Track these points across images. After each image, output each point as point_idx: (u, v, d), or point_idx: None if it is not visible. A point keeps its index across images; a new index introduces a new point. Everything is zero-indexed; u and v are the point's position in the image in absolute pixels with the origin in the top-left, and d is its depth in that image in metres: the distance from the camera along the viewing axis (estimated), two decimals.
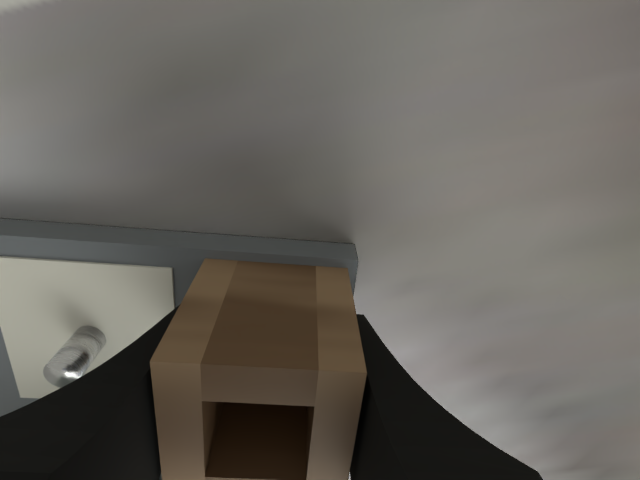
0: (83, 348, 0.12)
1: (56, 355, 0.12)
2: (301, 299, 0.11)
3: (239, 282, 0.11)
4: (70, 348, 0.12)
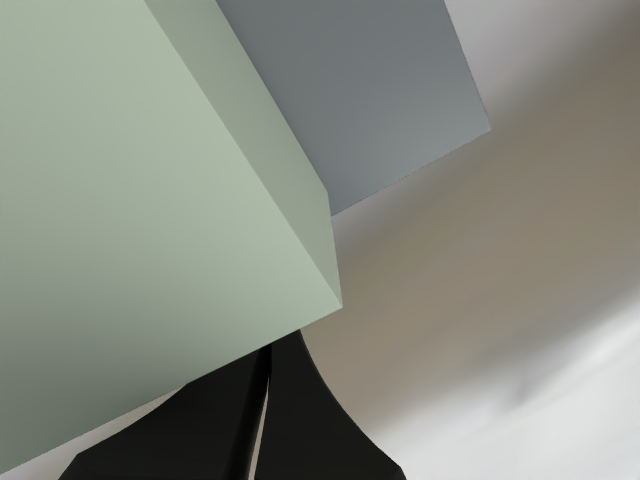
0: None
1: None
2: None
3: None
4: None
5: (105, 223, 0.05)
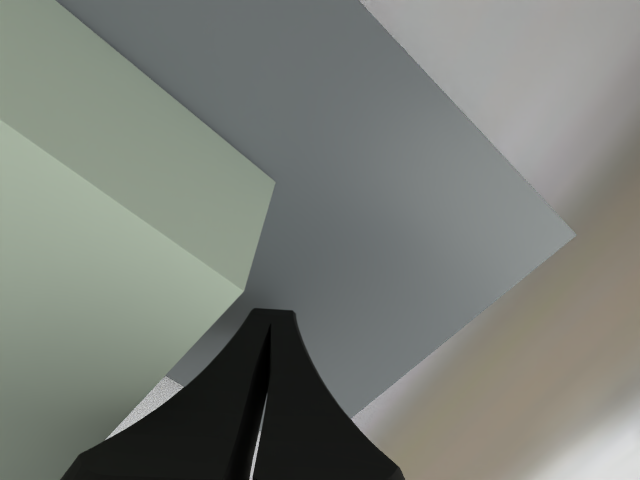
0: None
1: None
2: None
3: None
4: None
5: None
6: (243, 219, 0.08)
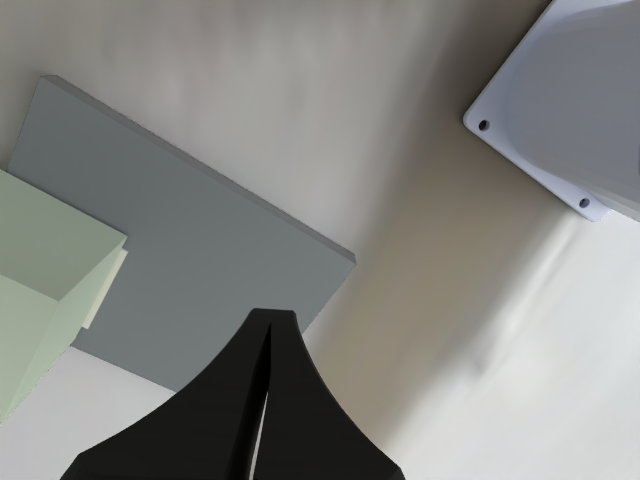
0: None
1: None
2: None
3: None
4: None
5: None
6: (79, 266, 0.16)
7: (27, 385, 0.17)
